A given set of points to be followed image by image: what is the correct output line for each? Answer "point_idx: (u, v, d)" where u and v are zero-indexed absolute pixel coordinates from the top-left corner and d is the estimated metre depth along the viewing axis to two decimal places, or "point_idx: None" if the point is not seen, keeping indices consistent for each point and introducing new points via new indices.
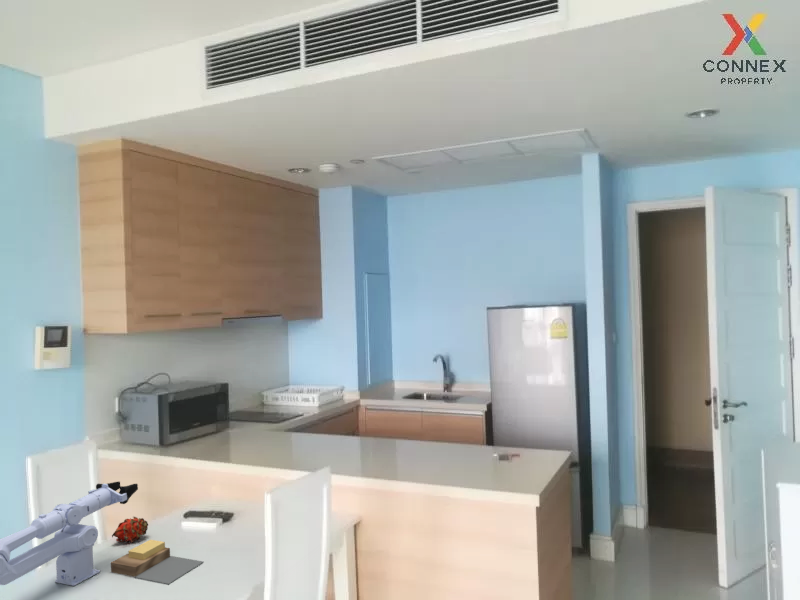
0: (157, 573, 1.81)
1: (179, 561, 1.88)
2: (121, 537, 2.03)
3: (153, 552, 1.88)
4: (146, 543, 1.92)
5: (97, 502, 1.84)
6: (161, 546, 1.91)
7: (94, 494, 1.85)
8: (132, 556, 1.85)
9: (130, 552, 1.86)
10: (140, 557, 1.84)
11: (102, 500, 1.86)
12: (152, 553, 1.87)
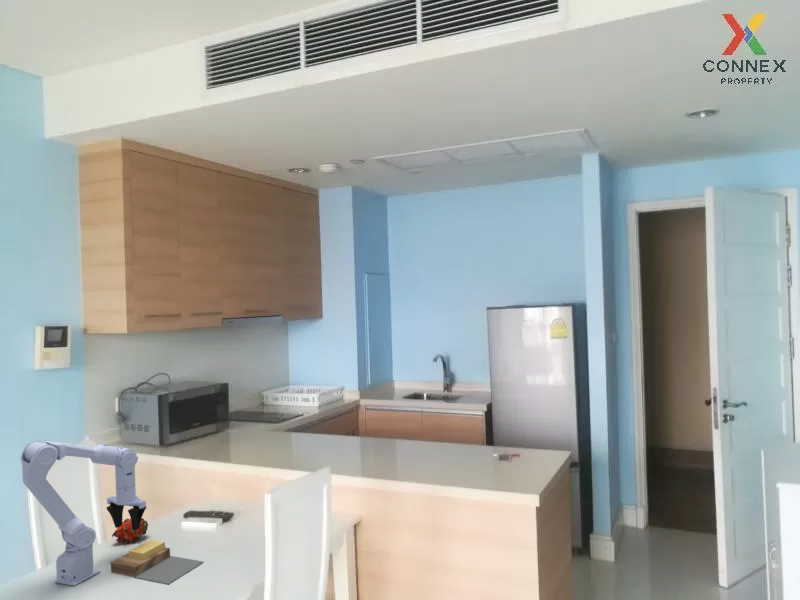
0: (157, 573, 1.81)
1: (179, 561, 1.88)
2: (121, 537, 2.03)
3: (153, 552, 1.88)
4: (146, 543, 1.92)
5: (131, 484, 1.90)
6: (161, 546, 1.91)
7: None
8: (132, 556, 1.85)
9: (130, 552, 1.86)
10: (140, 557, 1.84)
11: (133, 489, 1.91)
12: (152, 553, 1.87)
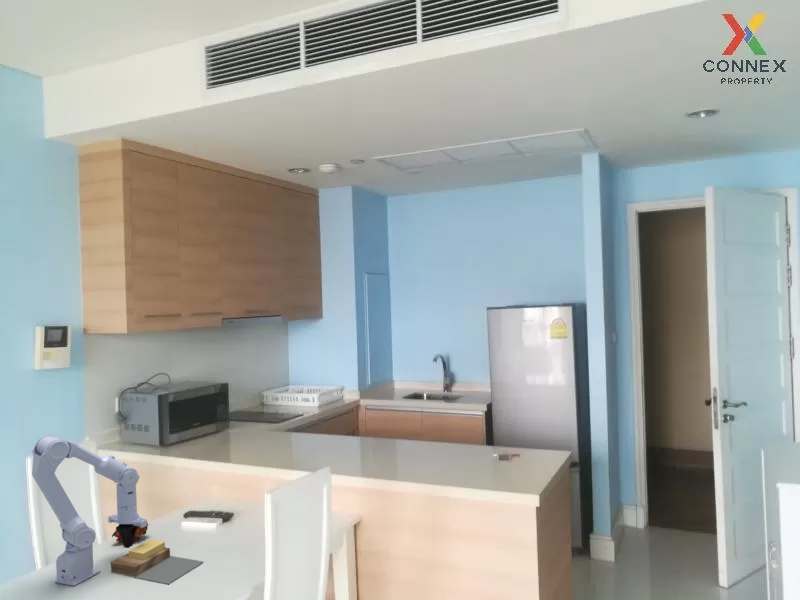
0: (157, 573, 1.81)
1: (179, 561, 1.88)
2: None
3: (153, 552, 1.88)
4: (146, 543, 1.92)
5: (132, 503, 1.90)
6: (161, 546, 1.91)
7: None
8: (132, 556, 1.85)
9: (130, 552, 1.86)
10: (140, 557, 1.84)
11: (134, 508, 1.91)
12: (152, 553, 1.87)
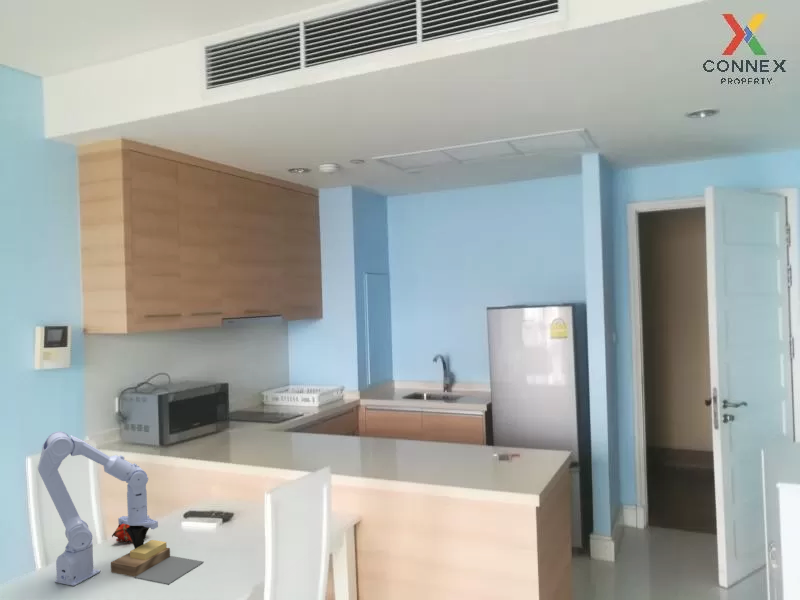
0: (157, 573, 1.81)
1: (179, 561, 1.88)
2: (121, 537, 2.03)
3: (155, 552, 1.87)
4: (147, 543, 1.91)
5: (141, 505, 1.88)
6: (163, 547, 1.91)
7: None
8: (134, 556, 1.85)
9: (132, 552, 1.85)
10: (142, 557, 1.84)
11: (145, 509, 1.90)
12: (154, 553, 1.87)
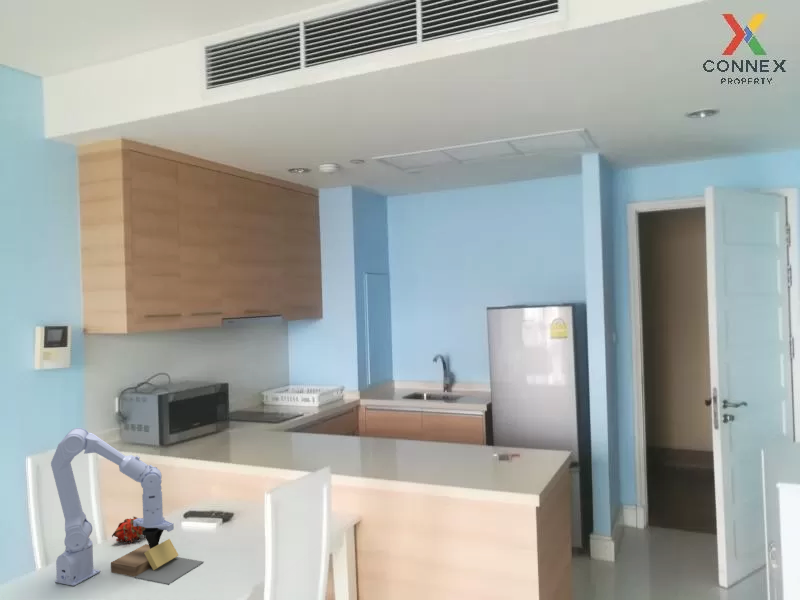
0: (157, 573, 1.81)
1: (179, 561, 1.88)
2: (121, 537, 2.03)
3: (164, 563, 1.86)
4: (164, 543, 1.89)
5: (154, 507, 1.85)
6: (173, 558, 1.89)
7: None
8: (147, 557, 1.83)
9: (148, 553, 1.83)
10: (152, 566, 1.82)
11: (160, 511, 1.87)
12: (163, 564, 1.86)
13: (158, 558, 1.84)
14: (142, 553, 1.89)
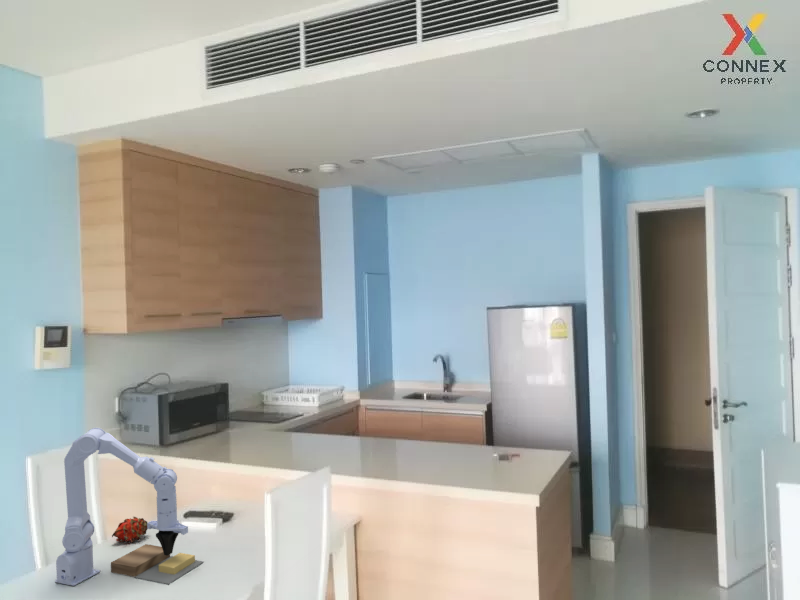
0: (157, 573, 1.81)
1: None
2: (121, 537, 2.03)
3: None
4: None
5: (167, 510, 1.83)
6: None
7: None
8: (169, 568, 1.80)
9: (172, 572, 1.80)
10: (161, 567, 1.81)
11: (175, 514, 1.85)
12: None
13: None
14: (142, 553, 1.89)
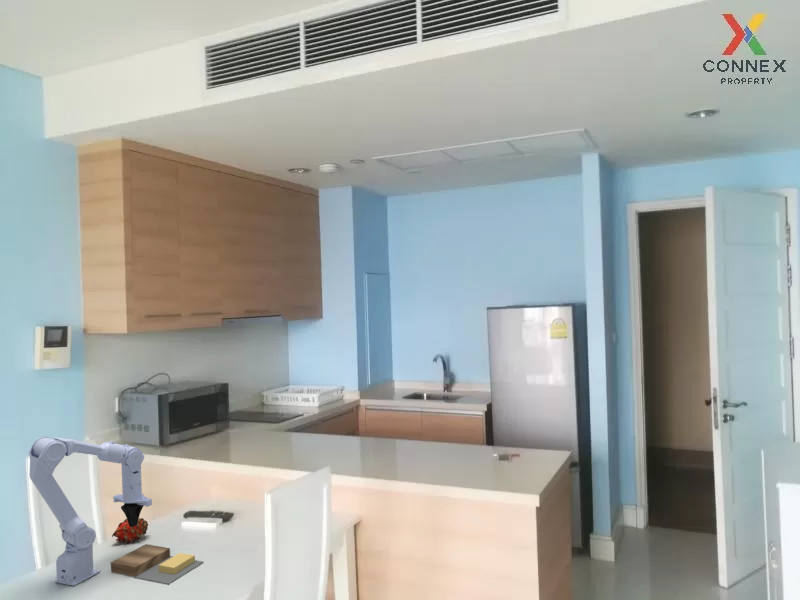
0: (157, 573, 1.81)
1: None
2: (121, 537, 2.03)
3: None
4: None
5: (137, 482, 1.92)
6: None
7: None
8: (169, 568, 1.80)
9: (172, 572, 1.80)
10: (161, 567, 1.81)
11: (139, 487, 1.93)
12: None
13: None
14: (142, 553, 1.89)
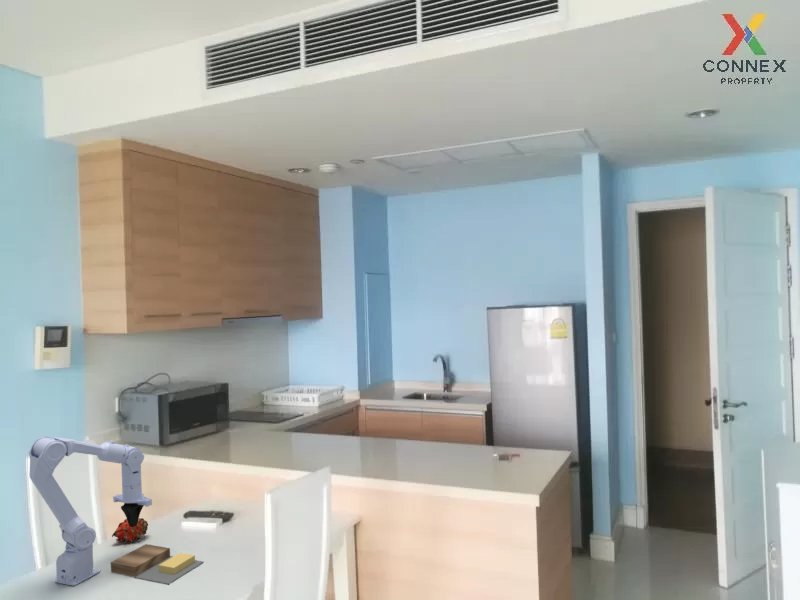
0: (157, 573, 1.81)
1: None
2: (121, 537, 2.03)
3: None
4: None
5: (137, 482, 1.92)
6: None
7: None
8: (169, 568, 1.80)
9: (172, 572, 1.80)
10: (161, 567, 1.81)
11: (139, 487, 1.93)
12: None
13: None
14: (142, 553, 1.89)
